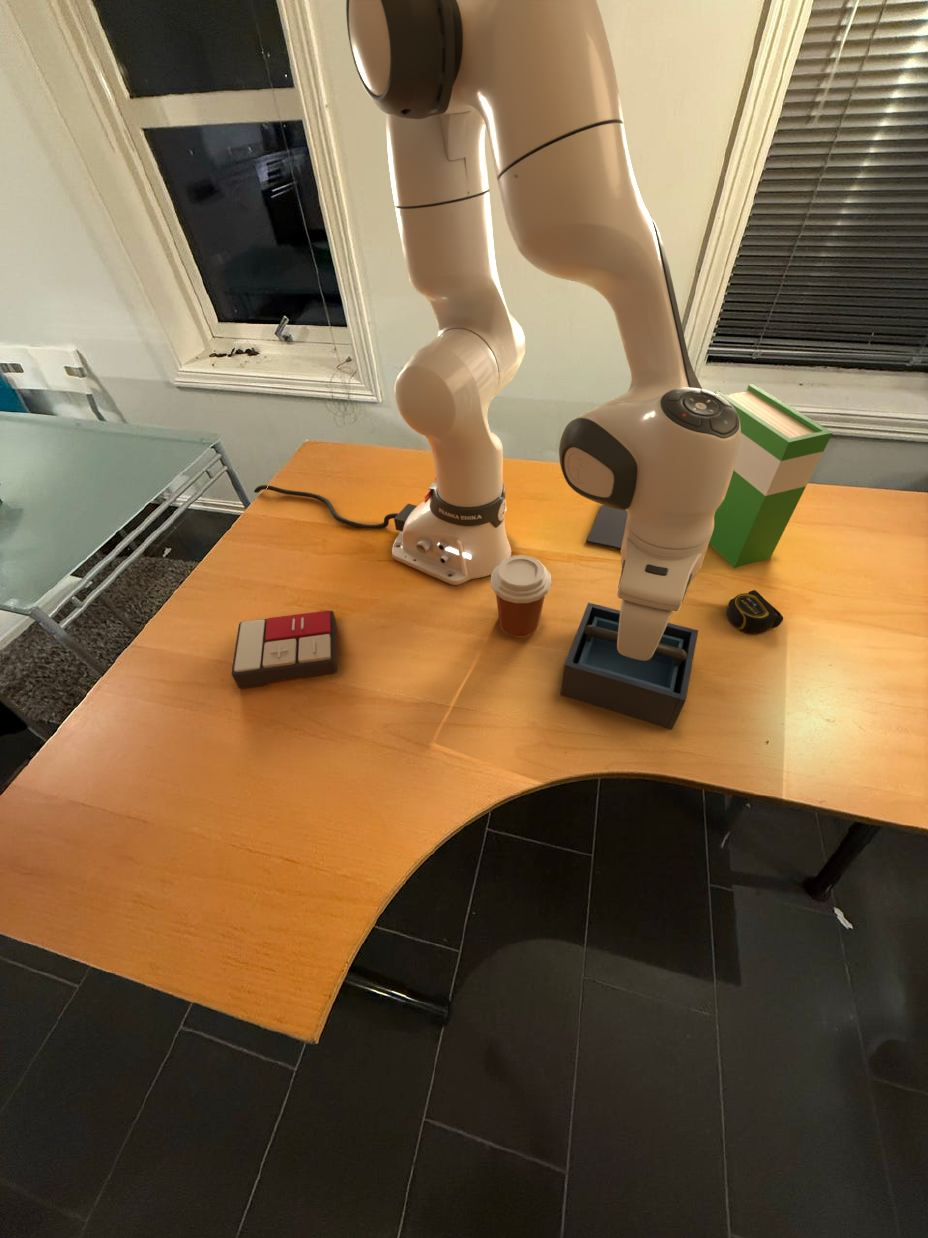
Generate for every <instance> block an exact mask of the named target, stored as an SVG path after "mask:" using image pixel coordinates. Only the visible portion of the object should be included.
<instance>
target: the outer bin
mask: <svg viewBox="0 0 928 1238" xmlns="http://www.w3.org/2000/svg"><path fill="white" fill-rule="evenodd" d="M620 610H621V609H616V608H612V607H608V606H604V605H600V604H596V603H592V602H587V605H586V607H585V610H584V612H583V614H582V617H581V620H580V623H579V625H578V628H577V631H576V634H575V635H574V639H573V642H572V644H571V646H570V650H569V652H568V655H567V658H566V659H565V664H564V667H563V673H562V675H563V676H562V680H561V687H560V693H559V694H560V696H562V697H566V698H569V699H573V700H575V701H579V702H582V703H585V704H588V705H591V706H594V707H598V708H601V709H604V710H608V711H610V712H614V713H616V714H620V715H623V716H626V717H629V718H633V719H636V720H640V721H642V722H646V723H648V724H653V725H655V726H658V727H662V728H665V729H668V730H671V731H672V730H673V729H674V727H675V725H676V722H677V720H678V718H679V716H680V714H681V712H682V711H683V707H684V705H685V704H686V701H687V697H688V696H687V695H688V690H689V685H690V681H691V674H692V668H693V662H694V657H695V653H696V651H695V650H696V646H697V645H696V644H697V640H698V634H699V630H698V629H694V628H691V627H687V626H683V625H679V624H675V623H671V622H668V624H667V626H666V629H665V631H664V633H663V634H664V635H668V636H672V637H676V638H679V639H683V640H684V641H683V646H682V649H683V650H685V651H686V653H687V657H686V659H685V660H683V661H682V662H681V665H680V667H678V671H677V676H676V681H675V686H674V692H671V691H668V690H664V689H661V688H658V687H654V686H651V685H647V684H644V683H640V682H637V681H634V680H630V679H627V678H623V677H620V676H616V675H613V674H610V673H606V672H603V671H599V670H596V669H592V668H589V667H585V666H582V665H579V664H578V662H579V660H580V657H581V654H582V651H583V648H584V645H585V643H586V641H585V638H586V634H585V628H586V627H587V626H588V625H592V623H593V620H594V617H599V618H603V619H606V620H610V621H614V622H618V623H619V618H620Z"/></svg>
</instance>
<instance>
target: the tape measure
mask: <svg viewBox="0 0 928 1238" xmlns="http://www.w3.org/2000/svg"><path fill="white" fill-rule="evenodd" d="M725 614H726V617H727V620H728V622H729V623H730V624H731V625H732V626H733V627H734V628H736V629H737V630H739V631H741V632H743V633H746V634H751V635H758V634H763V633H765V632H767V631H769V630H770V629H771V630H772V629H775V628H778V627H779V626H780V625H782V623H783V622H784V621H783V620H784V616H783V614H782V613H781V612H780V611H779V610H778V609H776V607H774V606H773V605H772V604H771V603H770V602H769V601H768V600H766V598H764V597H763V595H761V594H760V592H759V591H757V590H756V589H752V590H750V591H748V592H743V593H739V594H737V595H736V596H734V597H732V598H730V599H729V601H728V607H727V609H726V613H725Z"/></svg>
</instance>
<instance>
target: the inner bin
mask: <svg viewBox="0 0 928 1238" xmlns="http://www.w3.org/2000/svg"><path fill="white" fill-rule="evenodd" d="M618 628H619V623H618V622H614V621H610V620H606V619H603V618H599V617H594V620H593V623H592V625H588V626H587V627H586V628H585V634H586V638H585V641H586V643H585V645H584V648H583V651H582V654H581V657H580V660H579V662H578V664H579V665H582V666H585V667H589V668H592V669H596V670H599V671H603V672H606V673H610V674H613V675H616V676H620V677H623V678H627V679H630V680H634V681H637V682H640V683H644V684H647V685H651V686H654V687H658V688H661V689H664V690H668V691H671V692H674V686H675V681H676V676H677V671H678V667H680V665H681V662H682V661H683V660H685V659H686V657H687V653H686V651H685V650H683V649H682V646H683V641H684V640H683V639H679V638H676V637H672V636H668V635H664V634H663V635H662V637H661V640H660V642H659V644H658V646H657V648H656V650H655V652H654V654H653V656H652V657H651V658H650V659H649V660H647V661H643V660H637V659H633V658H630V657H626V656H624V655H621V654H620V653H619V652H618V649H617V640H618Z"/></svg>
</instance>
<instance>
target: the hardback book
mask: <svg viewBox="0 0 928 1238" xmlns="http://www.w3.org/2000/svg"><path fill="white" fill-rule="evenodd" d="M713 393H715V394H717V395H719V396H721V397H722V398H724V399H725V400H727V401H728V402H729V403H730V404H731V405H732V406H733V407H734V408H735V410H736V411H737V413H738V416H739V420H740V428H741V435H740V444H739V449H738V454H737V459H736V463H735V466H734V470H733V474H732V477H731V480H730V484H729V487H728V490H727V493H726V496H725V498H724V500H723V502H722V503H721V505H720V506H719V507H718V509H717V510H716V512H715V515H714V530H713V533H712V536H711V539H710V542H709V544H708V545H710V546H711V547H712V548H713V549H714V550H715V551H716V552H717V553H718V554H719V555H720V556H721V557H722V558H723V559H724V560H725V561H726V562H727V563H728V564H729V565H730V566H731V567H732V568H733V569H737V568H740V567H744V566H748V565H752V564H756V563H758V562H762V561H767V560H770V559H771V558H772V557H773V554H774V552H775V550H776V549H777V546H778V544H779V542H780V540H781V537H782V535H783V534H784V532H785V530H786V528H787V526H788V524H789V522H790V520H791V518H792V516H793V514H794V512H795V510H796V507H797V505H798V504H799V502H800V500H801V498H802V496H803V494H804V491H805V489H806V488H807V486H808V484H809V481H810V479H812V475H813V474H814V471H815V470H816V467H817V465H818V463H819V461H820V460H821V457H822V456H823V454H824V451H825V450H826V448H827V446H828V443H829V441H830V439H831V437H832V435H833V434H834V432H833V431H831V429H828V428H827V427H825V426H823V425H822V424H820V423H819V422H817V421H815V420H813V419H812V418H810V417H809V416H807V415H805V414H803V413H802V412H800V411H799V410H797V409H796V408H794V407H792V406H790V405H789V404H788V403H786V402H784V401H782V400H781V399H779V398H778V397H776V396H774V395H773V394H771V393H770V392H768V391H766V390H764V389H763V388H761V387H760V386H758V385H756V384H755V383H750V384H748V385H747V389H746V390H745V391H744V390H743V391H740V392H735V393H730V394H725V393H723V392H722V391H720V390H715V391H713Z"/></svg>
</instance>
